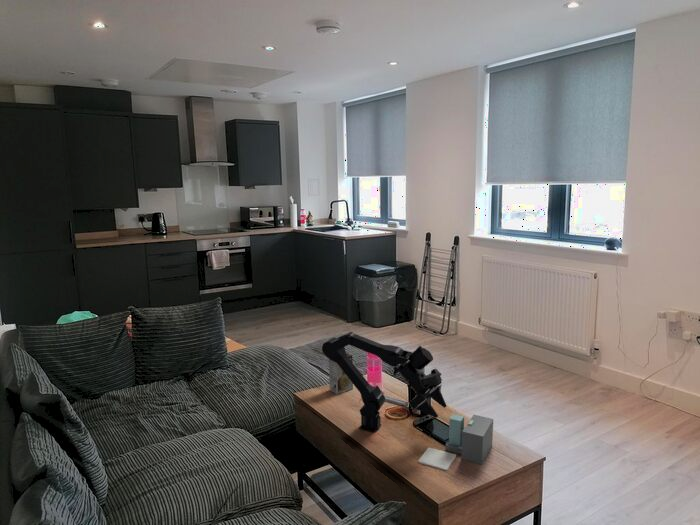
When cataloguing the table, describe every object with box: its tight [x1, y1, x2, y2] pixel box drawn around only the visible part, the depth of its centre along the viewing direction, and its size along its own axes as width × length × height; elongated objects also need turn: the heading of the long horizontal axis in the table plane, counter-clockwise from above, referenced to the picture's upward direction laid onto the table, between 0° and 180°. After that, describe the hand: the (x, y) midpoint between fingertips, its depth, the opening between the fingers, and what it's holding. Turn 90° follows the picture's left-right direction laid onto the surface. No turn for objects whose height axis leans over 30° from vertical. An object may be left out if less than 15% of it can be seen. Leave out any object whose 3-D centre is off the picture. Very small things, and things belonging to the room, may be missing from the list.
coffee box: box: [328, 352, 354, 395], centre depth 223 cm, size 9×6×16 cm
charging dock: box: [445, 414, 494, 466], centre depth 172 cm, size 14×14×10 cm
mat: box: [417, 447, 457, 471], centre depth 167 cm, size 10×10×1 cm
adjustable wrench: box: [384, 395, 409, 407], centre depth 212 cm, size 25×6×2 cm, turn 51°
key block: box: [448, 413, 465, 447], centre depth 174 cm, size 4×4×11 cm
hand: (441, 411), depth 176 cm, fingers open, 9 cm apart
